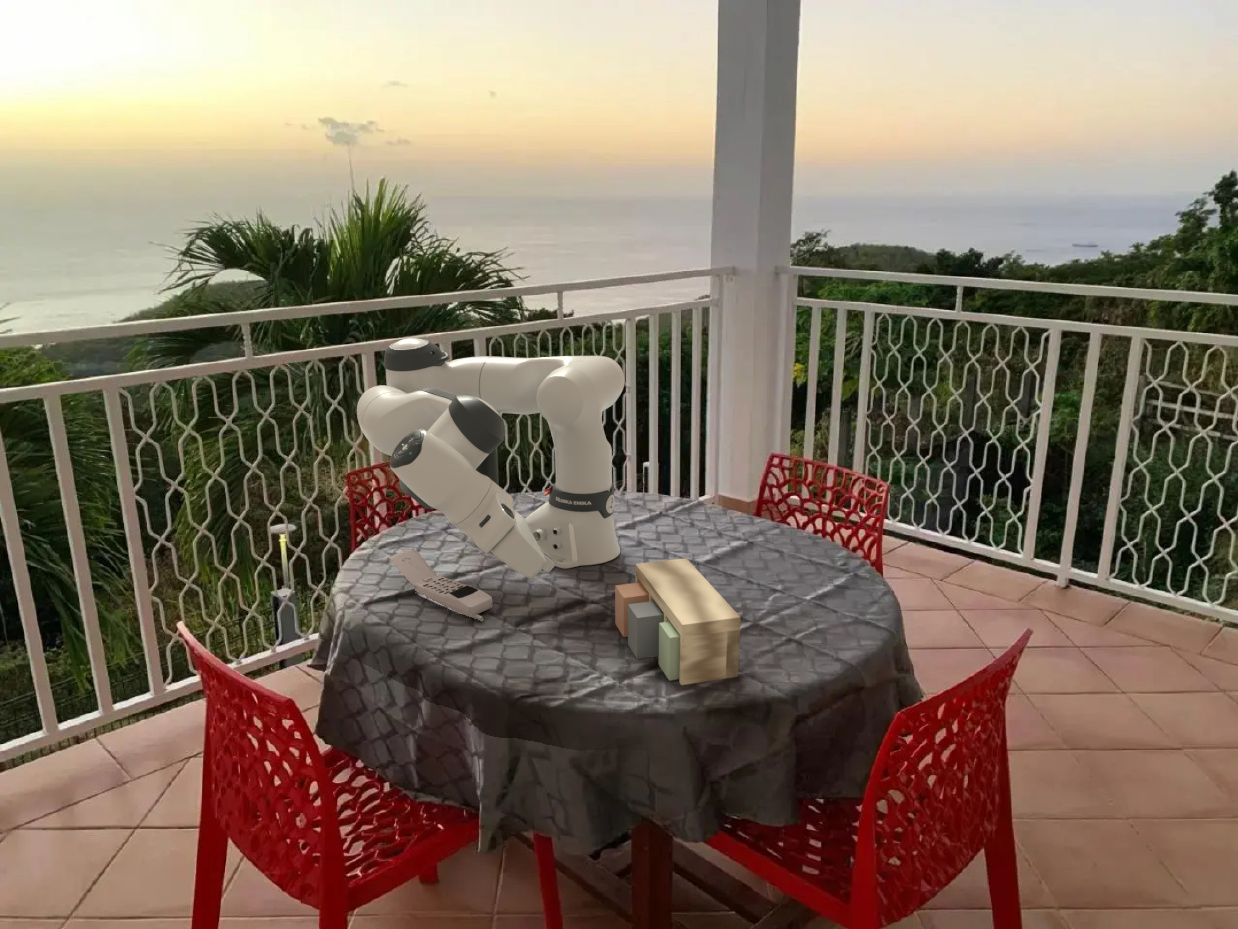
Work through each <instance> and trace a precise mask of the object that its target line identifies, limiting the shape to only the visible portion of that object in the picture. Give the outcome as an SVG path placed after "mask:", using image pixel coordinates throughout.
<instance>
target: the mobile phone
mask: <svg viewBox="0 0 1238 929" xmlns="http://www.w3.org/2000/svg"><path fill="white" fill-rule="evenodd" d="M388 559H389V560H390V562H391V563H392V564H393V565H394V566H395V568H396V569H397V570H398V571H399V572H400V573H401V575H403V576H404V578H406V580H407V581H408V582H409V583H410V585H412V586H413V588H414V592H415V591H417V592H419V593H420V594H422V595H425V596H426V597H428V598H430V599H432V600H433V601H436V602H438V603H440V604H442V605H444V606H446V607H449V608H451V609H452V610H455V611H457V612H459V613H462V614H464V615H466V616H465V617H468V616H469V617H468V618H470V617H472V618H474V620H476V619H478V620H477V621H479V620H480V621H479V622H482V621H481V620H482V619H483V620H484V617H483V616H482V615H480V614H481V613H484V612H485V611H488V610H489V609H492V608H493V604H494V603H493V597H492V595H490V594H488V593H487V592H484V591H483V590H481V589H479V588H477V587H475V586H472V585H470V584H464V583H462V582H459V581H455V580H454V579H449V578H447V577H444V576H441V575H440V574H437V573H436V572H435V571H434V570H433V569H432V567H431V566H430V565H429V564H428V562H426V560H425V559H424V558H423V557H422V555H421V553H419V551H418V550H416V549H415V548H414V547H412V548H410V549H406V550H404V551H399V552H398V553H395V554H393V555H391V556H388ZM472 618H471V619H472Z"/></svg>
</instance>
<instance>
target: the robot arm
mask: <svg viewBox="0 0 1238 929" xmlns="http://www.w3.org/2000/svg"><path fill="white" fill-rule="evenodd" d="M448 360H450V355H449V354H448V352H446V351H443V350H441V349H440V348H439V347H438V345H436V344H435V343H433V342H431V341H429V340H428V339H422V338H416V337H408V338H403V339H400V340H398V341H395V342H393V343H391V344H389V346H388V347H387V348H386V349H385V350H384V356H383V367H384V369H385V379H386V382H385V384H386V385H381V384H379V385H375V386H373V387H370V388H368V389H367V390H366V391H364V393H363V394H361V396H360V398H359V400H358V402H357V405H356V415H357V416H356V417H357V421H358V425H359V428H360V429H361V431H362V433H363V434H364V436H365V438H366V440H368V442H369V443H370V444H371V445H372V447H374V448H375V449H377V450H378V451H379V452H381V453H383V454H385V455H387V456H390V460H389V468H390V469H391V471H392V472H393V473H394V474H395V475H396V477H398V479H399V480H398V481H399V486H400V489H401V490H402V491H403V492H404V493H405V494H406V495H408V496H409V497H410V498H411V499H413V500H414V501H415V502H416V503H418V504H419V505H420V506H421V507H423V508H424V509H426V510H428V509H429V510H431V509H433V510H434V509H435V510H437V511H439V512H441V513H442V514H443V515H444V516H445V517H446V519H447V520H448V522H449V523H450V524H452V526H454V527H456V528H457V529H458V530H459V531H460V532H462V534H464V535H466V536H467V537H468V538H469V539H470V540H472V542H473V543H474V544H475V546H476V547H477V548H479V550H481V551H482V552H483V553H484V554H488V553H490V552H491V554H493V556H495V557H496V558H498V559H499V560H500V561H501V562H503V563H504V564H506V565H507V566H509V567H510V568H512V569H513V570H514V571H516V572H518V574H521V575H522V576H523V577H526V578H529V579H534V578H536V577H537V575H538V574H540V573H541V571H545V572H546V573H550V572H551V571H552V569H553V570H554V568H555V567H556V568H560V569H571V568H575V567H579V566H581V567H582V566H592V565H599V564H603V563H607V562H609V561H612V560H614V559H616V558H617V557H618V556H619V555H620V553H621V548H620V544H619V542H618V539H617V533H616V527H615V520H614V513H615V503H616V502H615V484H613V473H612V471H613V470H612V469H613V468H612V467H613V462H612V460H613V455H612V453H613V450H612V449H613V448H612V446H611V444H610V442H609V441H608V439H607V438H606V434H605V430H604V426H603V425H604V424H603V420H602V418H603V417H602V416H603V411H606V410H607V409H609V408H610V407H612V406H613V405H614V404H615V403H616V402H617V401H618V399H619V397H620V396H621V394H622V392H623V390H624V388H625V381H626V380H625V373H624V371H623V368H622V367H621V366H620V365H619V363H618V362H617V361H615V360H614V359H613V358H611V357H608V356H603V355H564V356H563V355H562V356H561V355H560V356H545V357H544V356H542V357H508V356H491V355H490V356H487V355H486V356H485V355H484V356H471V357H468V356H467V357H462V358H457V359H453V360H451V361H448ZM500 413H501V414H517V415H532V414H541V416H542V417H543V418H544V420H546V421H547V423H548V426H549V431H550V433H551V437H552V442H553V447H554V448H553V449H554V458H555V459H554V460H555V463H554V464H555V483H553V484H551V485H549V486H548V487H549V488H546V489H545V490H544V492H545V493H544V496H545V497H546V496H549V497H548V500H547V501H546V502H544V503H543V504H542V505H540V506H539V507H538V508H537V509H535V510H534V511H533V512H532V513H530V514H529V515H527V517H525V518H524V517H523V516H522V515H521V514H520V513H519V512H518V511H516V510H515V509H514V507H513V504H514V499H513V496H511V495H510V494H509V493H508V492H507V491H506V490H504V489H503V488H502V487H501V486H498V485H497V484H496V483H495V482H494V481H492V480H491V479H490V478H489V477H487V476H485V475H483V474H480V473H479V472H478V471H476V468H477V467H478V466H479V465H480V464H481V463H482V462H483V461H484V459H485V458H486V457H487V456H488V455H489V454H490V453H492V452H493V451H494V450H495V449H496V448H497V449H498V447H499V446H500V445H501V444H502V443H503V442H504V439H505V438H504V437H505V422H504V419H503V418H502V416H501V414H500Z"/></svg>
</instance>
